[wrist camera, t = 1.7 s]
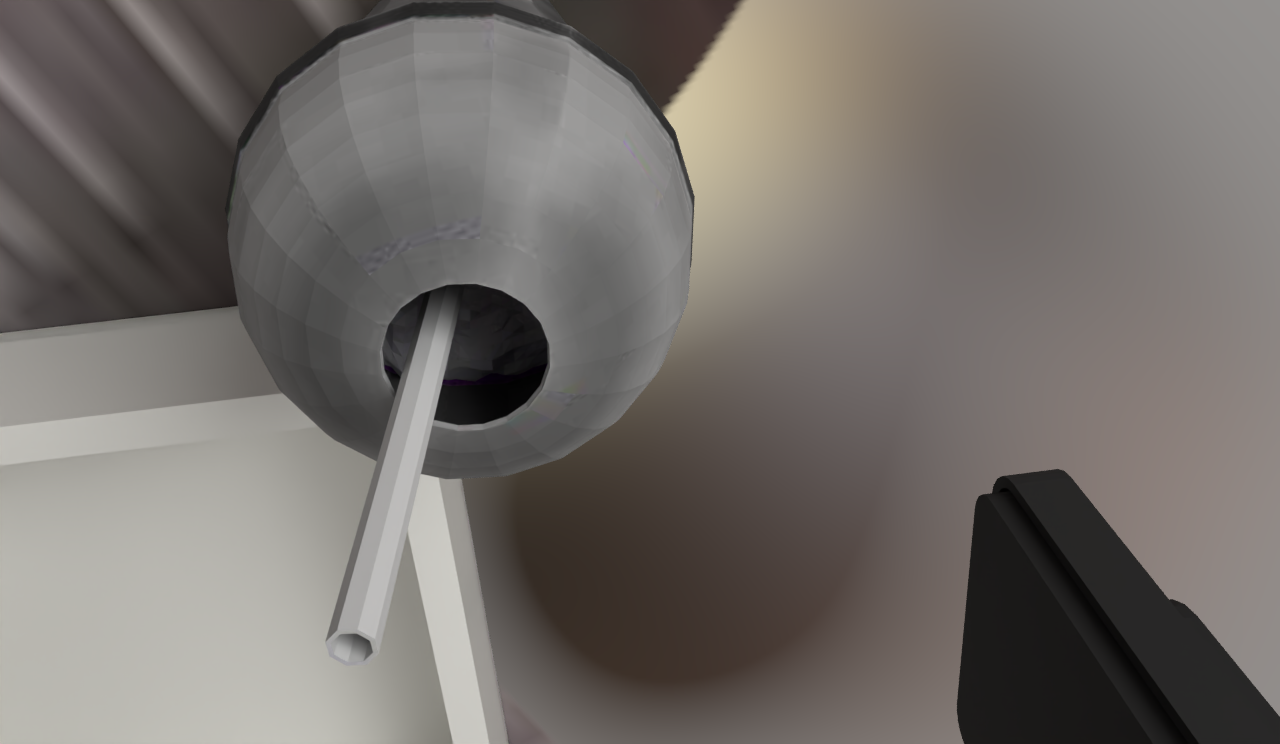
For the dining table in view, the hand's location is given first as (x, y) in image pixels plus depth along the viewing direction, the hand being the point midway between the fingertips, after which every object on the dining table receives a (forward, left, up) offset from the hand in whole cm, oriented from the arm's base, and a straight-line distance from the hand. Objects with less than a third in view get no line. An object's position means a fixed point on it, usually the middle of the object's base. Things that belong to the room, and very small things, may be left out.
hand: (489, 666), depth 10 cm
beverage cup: (0, 0, -21) cm, 21 cm away
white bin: (+15, -11, -20) cm, 27 cm away
